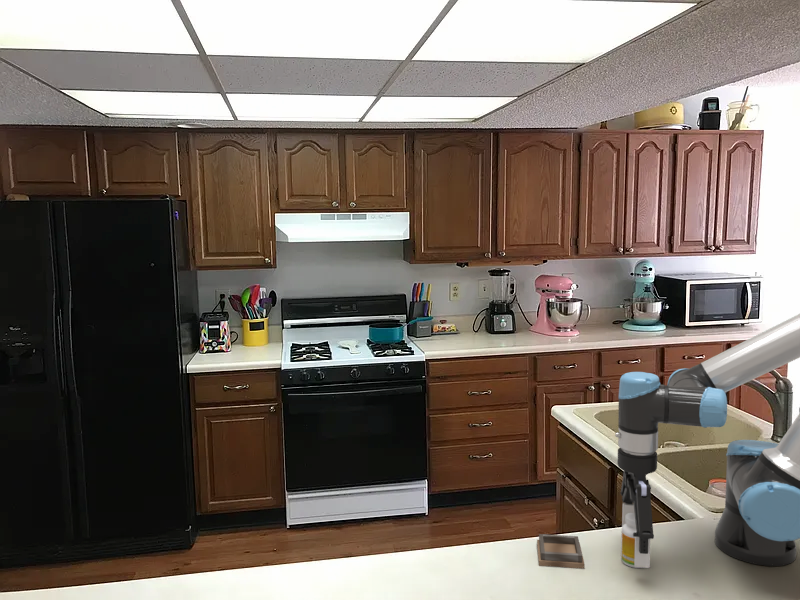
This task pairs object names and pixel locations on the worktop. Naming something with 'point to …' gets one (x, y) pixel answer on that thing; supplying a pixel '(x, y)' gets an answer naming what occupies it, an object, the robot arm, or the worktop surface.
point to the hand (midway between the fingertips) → (635, 549)
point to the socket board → (560, 551)
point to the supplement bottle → (628, 540)
